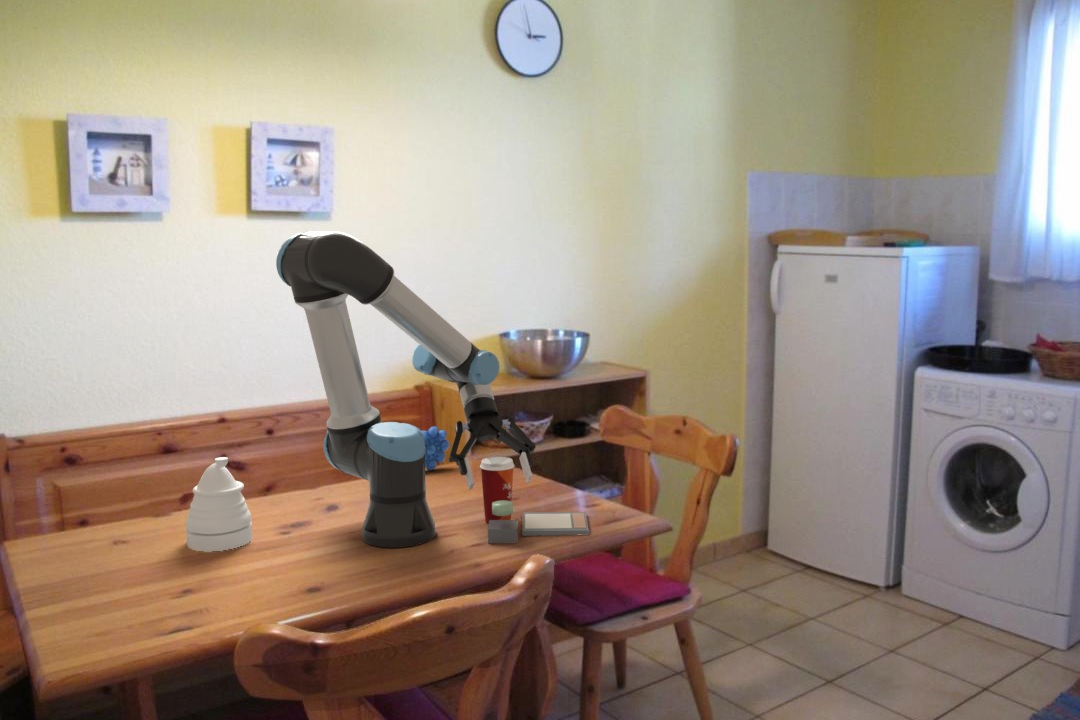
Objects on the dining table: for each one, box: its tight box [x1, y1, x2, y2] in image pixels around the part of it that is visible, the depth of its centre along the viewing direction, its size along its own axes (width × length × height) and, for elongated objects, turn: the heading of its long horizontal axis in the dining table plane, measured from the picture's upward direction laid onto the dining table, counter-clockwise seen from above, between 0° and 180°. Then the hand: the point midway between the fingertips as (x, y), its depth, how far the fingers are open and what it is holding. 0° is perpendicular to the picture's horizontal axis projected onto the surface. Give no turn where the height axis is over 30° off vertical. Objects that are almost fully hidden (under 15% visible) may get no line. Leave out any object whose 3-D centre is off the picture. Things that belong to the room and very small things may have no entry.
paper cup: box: [479, 456, 516, 526], centre depth 198 cm, size 8×8×14 cm
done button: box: [492, 500, 514, 516], centre depth 188 cm, size 4×4×2 cm
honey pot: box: [185, 456, 253, 553], centre depth 187 cm, size 13×13×18 cm
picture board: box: [521, 511, 590, 537], centre depth 196 cm, size 14×13×1 cm
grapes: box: [421, 425, 450, 471], centre depth 244 cm, size 12×7×12 cm, turn 122°
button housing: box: [487, 519, 519, 544], centre depth 188 cm, size 6×6×3 cm
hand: (501, 483), depth 200 cm, fingers open, 13 cm apart
